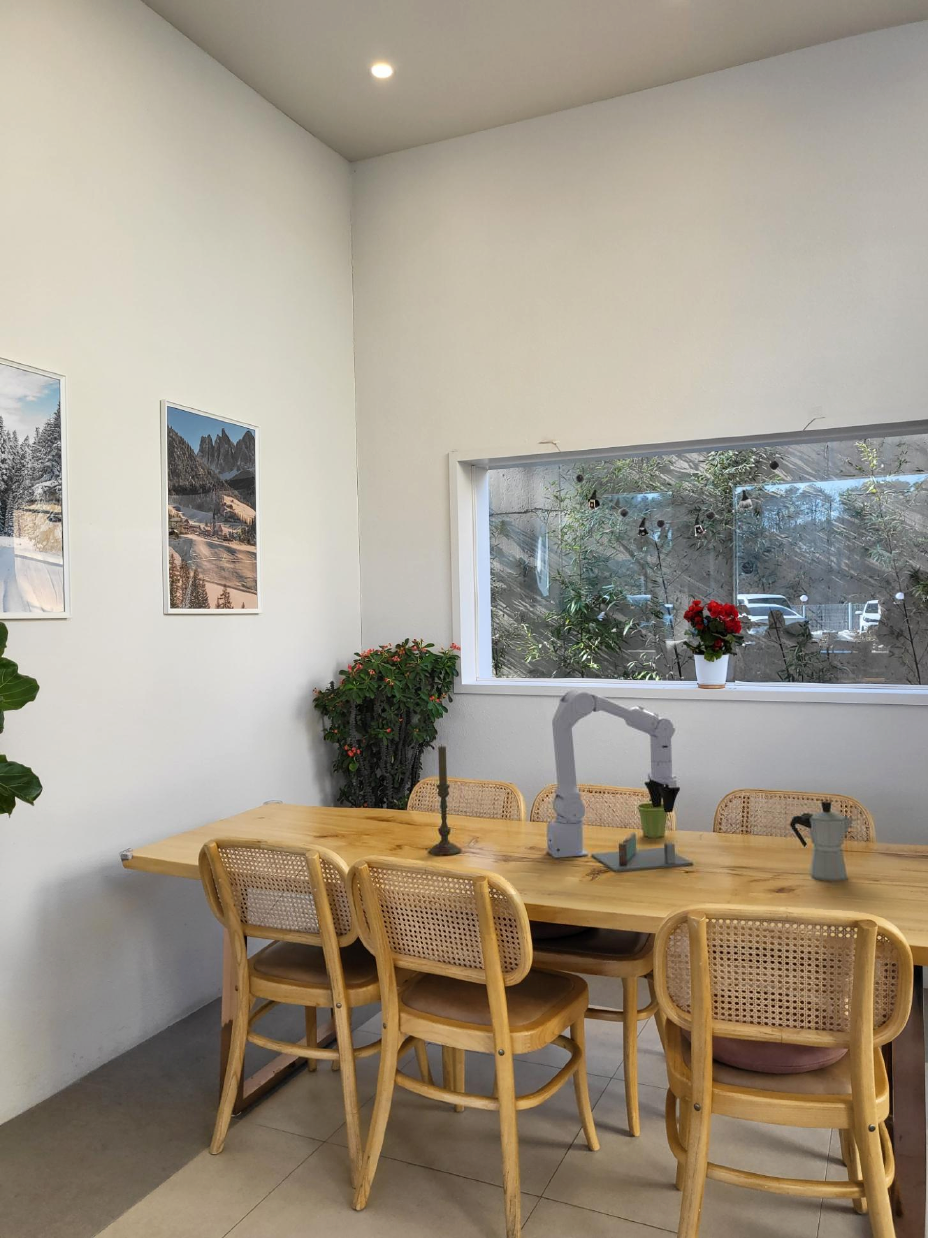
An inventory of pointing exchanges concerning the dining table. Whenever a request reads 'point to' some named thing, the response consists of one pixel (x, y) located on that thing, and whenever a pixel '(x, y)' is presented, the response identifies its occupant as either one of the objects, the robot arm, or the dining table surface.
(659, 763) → the robot arm
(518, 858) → the dining table surface
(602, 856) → the slate mat
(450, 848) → the candlestick holder
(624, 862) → the hinge post
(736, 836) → the dining table surface
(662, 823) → the plant pot
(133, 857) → the dining table surface
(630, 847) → the gate
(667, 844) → the dark grey rectangular block
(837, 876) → the coffee maker
